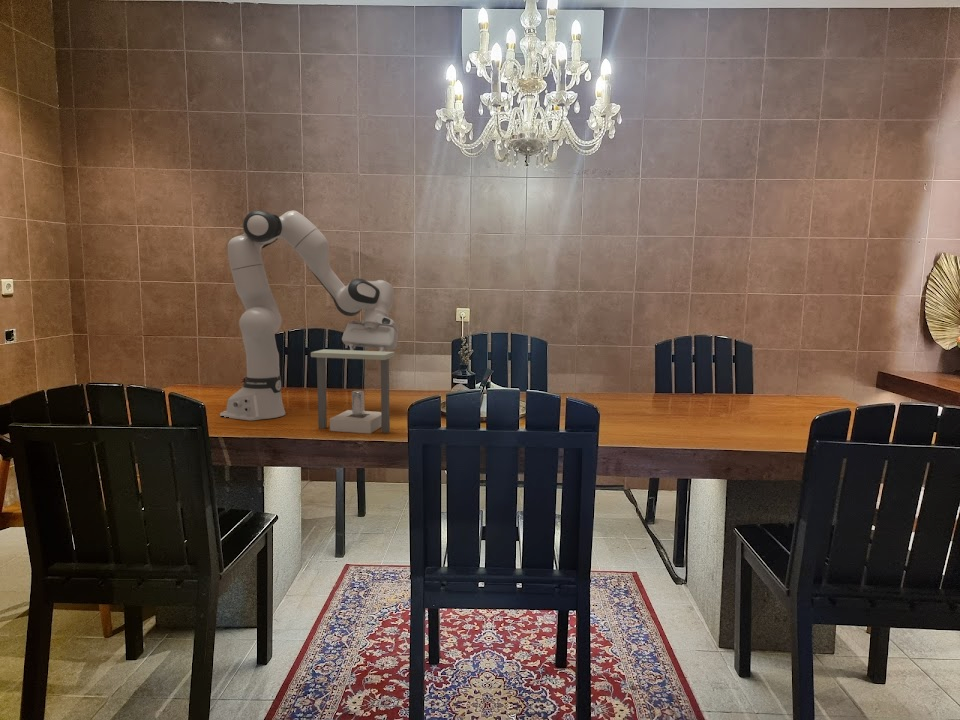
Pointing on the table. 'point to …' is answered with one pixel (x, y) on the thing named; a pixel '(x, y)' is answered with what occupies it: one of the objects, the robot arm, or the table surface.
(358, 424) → the socket
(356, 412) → the peg
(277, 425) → the table surface
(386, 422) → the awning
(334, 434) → the table surface
